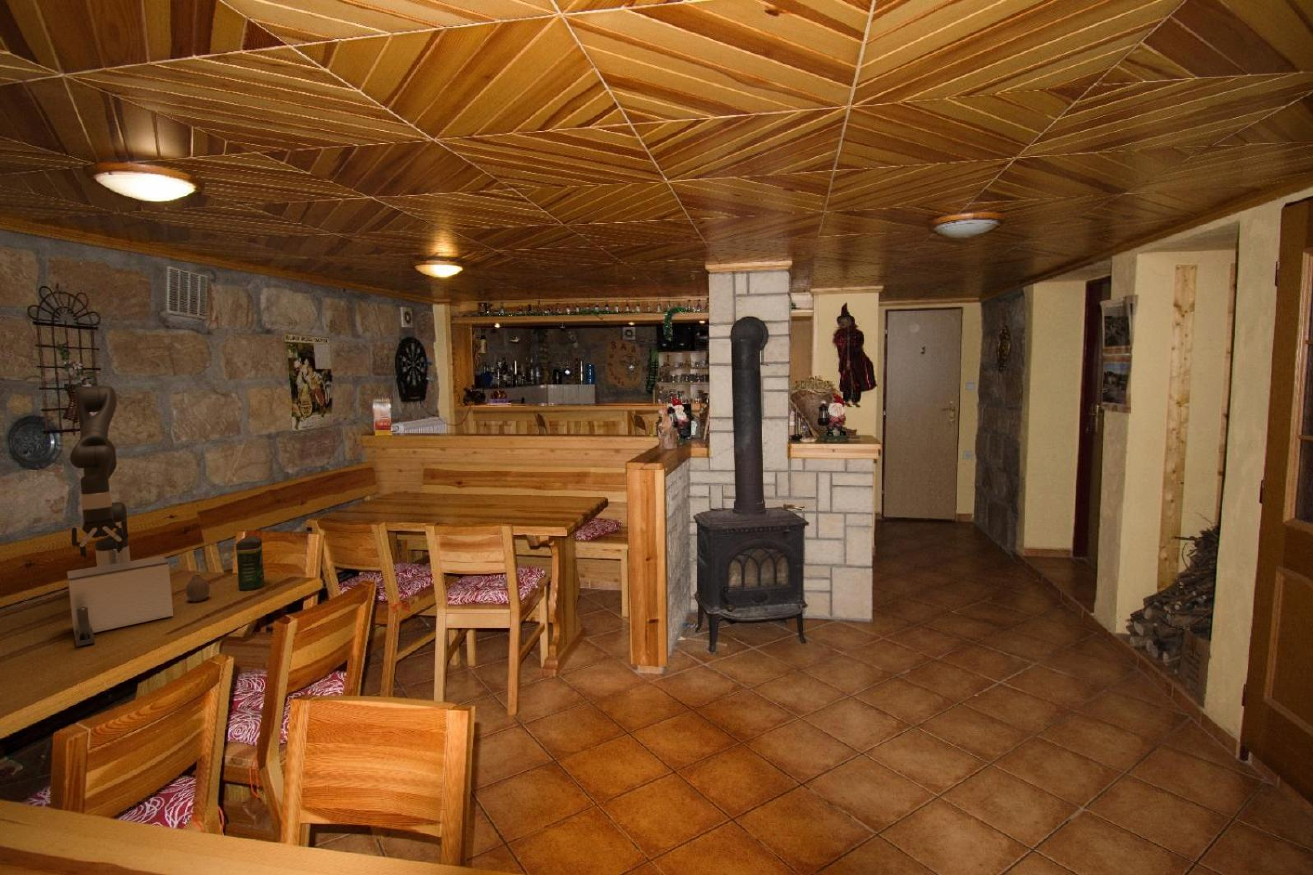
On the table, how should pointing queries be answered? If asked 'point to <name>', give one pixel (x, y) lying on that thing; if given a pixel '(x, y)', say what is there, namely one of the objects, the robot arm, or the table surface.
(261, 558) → the coffee jar
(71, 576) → the block
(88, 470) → the robot arm
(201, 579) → the vase
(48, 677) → the table surface
